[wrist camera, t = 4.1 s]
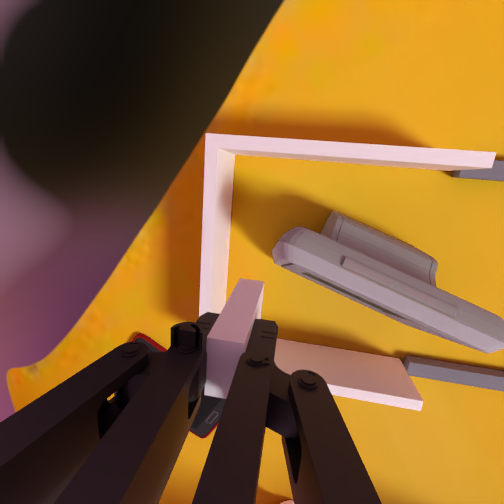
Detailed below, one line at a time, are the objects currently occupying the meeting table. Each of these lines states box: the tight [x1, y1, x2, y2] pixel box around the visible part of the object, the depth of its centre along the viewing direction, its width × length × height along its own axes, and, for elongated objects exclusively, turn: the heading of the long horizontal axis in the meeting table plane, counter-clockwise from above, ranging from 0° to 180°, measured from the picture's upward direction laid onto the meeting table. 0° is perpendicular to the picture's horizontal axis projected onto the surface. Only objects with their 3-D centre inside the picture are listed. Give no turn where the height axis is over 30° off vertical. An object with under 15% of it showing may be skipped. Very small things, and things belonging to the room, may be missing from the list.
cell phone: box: [132, 333, 226, 438], centre depth 35 cm, size 8×15×1 cm, turn 55°
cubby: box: [199, 133, 496, 411], centre depth 26 cm, size 20×21×6 cm
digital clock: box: [272, 211, 504, 353], centre depth 23 cm, size 16×9×11 cm, turn 55°
